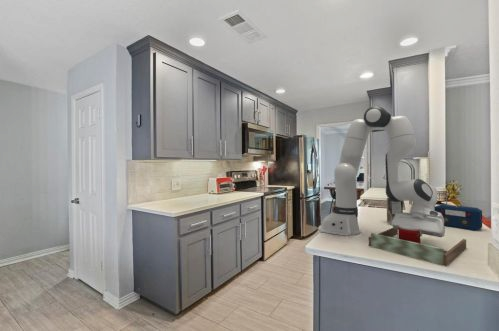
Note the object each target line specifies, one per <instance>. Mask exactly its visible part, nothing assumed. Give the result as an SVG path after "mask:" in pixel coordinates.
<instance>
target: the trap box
mask: <svg viewBox="0 0 499 331" xmlns="http://www.w3.org/2000/svg"><path fill="white" fill-rule="evenodd" d="M396 236H398V229H394V228H393V227H392V228H388V229H386V230H384V231H381V232H378V233H372V232H371V233H370V236H369V237H368V247H372V248H375V249H376V248H377V249H379V250H380V249H381V250H384V251H387V252H391V253H395V254H398V255H403V256H407V257H411V258H414V259H418V260H422V261H426V262H429V263H432V264H437V265H440V266H444V267H448V266H449V265H450V264H451V263H452V262H453V261H455V259H456V258H458V257H459V256H460V255H461V254H462V253H463V252H464V251H465V250H466V249H467V239H465V238H462V239H461V240H460V241H459V242H458V243H457V244H455V245H454V246H452V247H451V248H450V249H449V250H445V249H444V248H443V247H442V248H441V247H437V246H433V245H428V244H424V243H421V244H420V243H415V242H410V241H406V240H401V239H399V238H396Z"/></svg>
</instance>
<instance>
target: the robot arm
mask: <svg viewBox="0 0 499 331" xmlns="http://www.w3.org/2000/svg"><path fill="white" fill-rule="evenodd" d="M384 131H385V132H386V133H387V137H388V144H389V146H388V151H387V152H386V154H385V161H384V162H385V180H386V182H385V194H386V198H389V199H390V200H392V201H393V202H401V201H403V202H404V201H412V202H413V203H412V204H411V206H410V209H409V212H404V211H403V212H398V213H396V214H395V216H394V219H393V221H392V223H391V224H392V225H391V224H390V225H391V226H392V228H394V229H398V227H399V225H402V224H406V225H414V226H418V227H420V232H421V237H422V236H423V235H426V236H431V237H436V238H437V237H438V238H443V237H444V236H445V233H446V226H444V218H443V216H442V214H441V213H439V212H436V211H433V208H434V207H435V206H437V205H436V204H437V200H438V191H437V188H436V187H434V186H433V185H431V184H428V183H427V182H426V181H424V180H423V179H420V178H415V179H414V178H413V179H407V180H402V181H399V169H398V168H399V165H400V164H399V163H400V162H401V161H402V160H404V158H406V157H408V156H409V155H410V154H411V153H412V152H413V151H414V150H415V148H416V146H417V140H416V135H415V131H414V129H413V126H412V123H411V120H409V118H408V117H407V116H405V115H396V116H392V115H391V113H390V112H389V111H388V110H387V109H385V108H384V107H381V106H379V105H377V106H376V105H374V106H370V107H369V108H367V109H366V111H365V112H364V114H363V118H357V119H354V120H353V121H351V123H350V125H349V127H348V129H347V132H346V134H345V138H344V142H343V146H342V149H341V152H340V158H339V162H338V164H337V166H336V167H335V168H334V172H333V173H334V175H333V176H334V187H335V188H334V189H335V205H334V204H333V205H332V206H331V210H332V212H331V213H329V214H328V215H326V216H325V217H324V218H323V219H322V223H321V224H320V225H318V229H317V230H318V232H320V233H325V234H326V233H327V234H332V235H339V236H345V237H348V236H352V235H359V234H361V230H360V226H359V221H358V220H359V219H358V217H359V208H358V190H357V175H358V172H359V168H360V165H361V161H362V158H363V154H364V152H365V151H364V150H365V148H366V144H367V140H368V137H369V134H370V133H375V132H376V133H377V132H384Z"/></svg>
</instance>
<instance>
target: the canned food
mask: <svg viewBox="0 0 499 331" xmlns="http://www.w3.org/2000/svg"><path fill="white" fill-rule="evenodd" d="M397 236H398V239H401V240H406V241H410V242H415V243H420V244H422V243H421V239H422V238H421V237H422V236H421V232H420V227H418V226H414V225H406V224H402V225H399V227H398V234H397Z"/></svg>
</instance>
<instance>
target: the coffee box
mask: <svg viewBox="0 0 499 331" xmlns="http://www.w3.org/2000/svg"><path fill="white" fill-rule="evenodd" d="M398 212H404V201H401V202H393V201H392V200H390V199H389V198H388V197H386V222H387V224H389V225H391V226H392V224H391V223H392V221H393V219H394V216H395V214H396V213H398Z"/></svg>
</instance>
